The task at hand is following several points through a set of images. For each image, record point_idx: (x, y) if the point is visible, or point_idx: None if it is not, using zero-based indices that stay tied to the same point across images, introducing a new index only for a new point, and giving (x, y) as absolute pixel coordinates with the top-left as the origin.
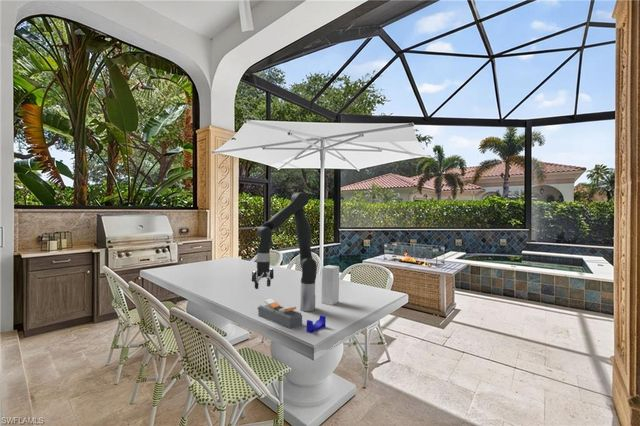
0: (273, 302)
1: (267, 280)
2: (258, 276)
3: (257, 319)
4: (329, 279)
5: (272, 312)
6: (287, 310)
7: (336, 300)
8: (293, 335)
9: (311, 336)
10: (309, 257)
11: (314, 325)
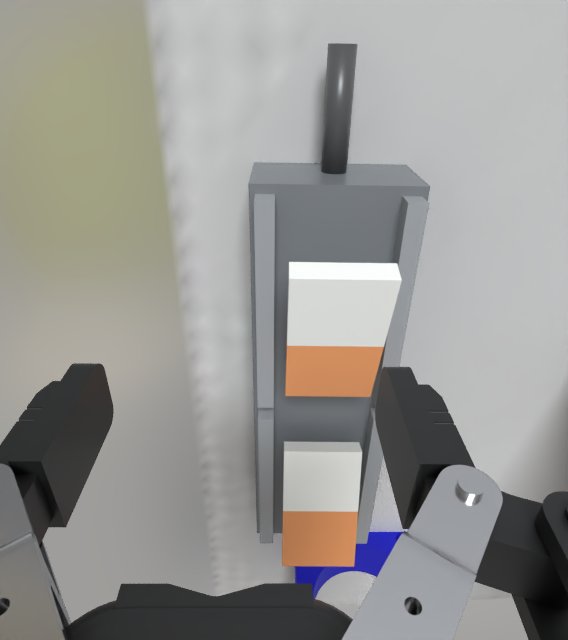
0: (351, 346)
1: (411, 474)
2: (54, 617)
3: (191, 237)
4: None
5: (254, 388)
6: (282, 535)
7: None
8: (213, 533)
9: (269, 575)
10: None
11: (362, 552)
